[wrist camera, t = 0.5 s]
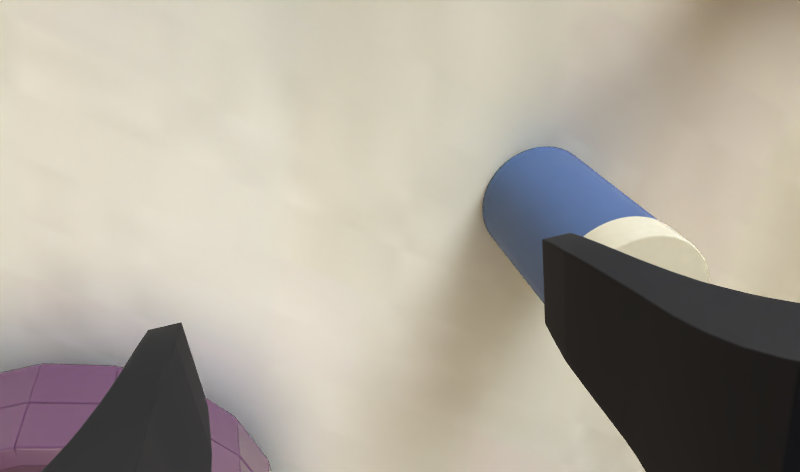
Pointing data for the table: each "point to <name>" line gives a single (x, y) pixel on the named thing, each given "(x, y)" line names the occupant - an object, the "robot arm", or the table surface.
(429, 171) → the table surface
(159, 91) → the table surface
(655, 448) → the robot arm
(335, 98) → the table surface
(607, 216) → the glue stick
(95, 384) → the bowl
